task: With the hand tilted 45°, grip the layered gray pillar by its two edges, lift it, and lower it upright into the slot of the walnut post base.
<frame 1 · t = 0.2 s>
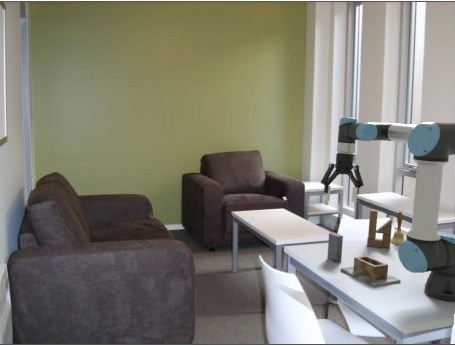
hand: (340, 201, 230), 27 cm above the table, tool pointing down, fingers open, 13 cm apart
hand bell: (397, 242, 267), on the table
wooden angular frame: (378, 246, 258), on the table
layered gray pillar: (334, 260, 234), on the table
post slot: (369, 276, 215), on the table
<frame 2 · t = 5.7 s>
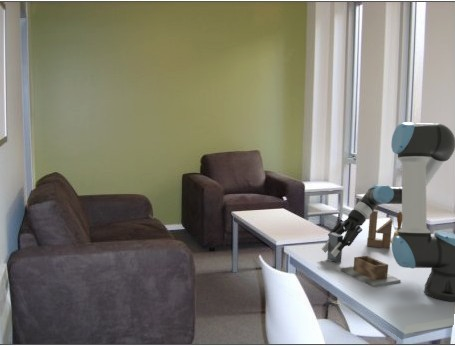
hand: (328, 252, 231), 4 cm above the table, tool tilted 45°, fingers closed on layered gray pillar, 6 cm apart
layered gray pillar: (334, 260, 234), on the table, touching gripper
everything else where it was.
when the fingers open (8 cm above the table, at t = 12.5 s): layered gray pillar drops 3 cm, resting on post slot.
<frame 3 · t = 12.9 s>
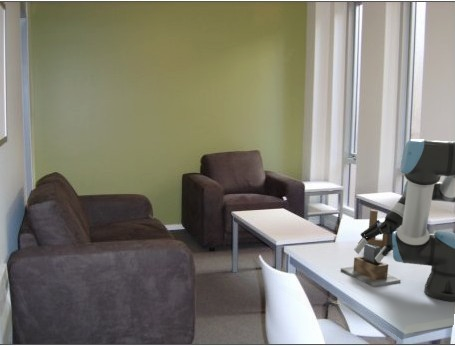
hand: (366, 256, 212), 9 cm above the table, tool tilted 45°, fingers open, 12 cm apart
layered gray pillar: (370, 273, 214), point 1 cm above the table, touching post slot
everything else where it was.
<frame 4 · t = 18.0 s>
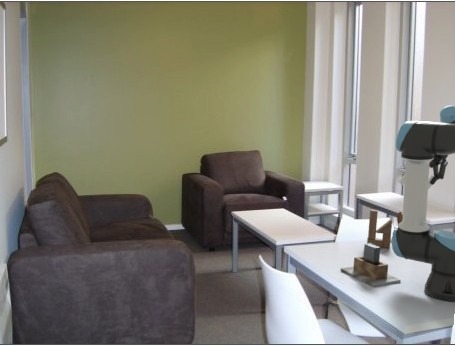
hand: (412, 186, 223), 36 cm above the table, tool tilted 45°, fingers open, 13 cm apart
nothing on the table moved.
at the end: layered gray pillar 0.1 cm off-centre on the post slot, point 1.0 cm above the post slot's base; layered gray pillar tilted 0°; the gripper is holding nothing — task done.
